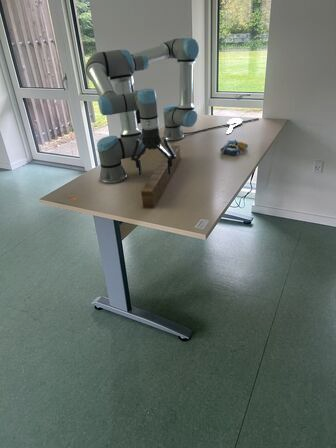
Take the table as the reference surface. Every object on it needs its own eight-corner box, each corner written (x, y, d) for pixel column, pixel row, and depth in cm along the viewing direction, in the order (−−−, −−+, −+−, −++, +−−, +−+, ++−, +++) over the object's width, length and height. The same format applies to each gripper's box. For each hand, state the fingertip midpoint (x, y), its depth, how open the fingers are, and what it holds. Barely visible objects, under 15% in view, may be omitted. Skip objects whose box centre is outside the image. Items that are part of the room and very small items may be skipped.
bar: (172, 158, 211) (171, 145, 207) (180, 158, 210) (179, 145, 206) (143, 207, 158) (141, 191, 154) (153, 208, 157) (151, 191, 153)
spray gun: (250, 145, 220) (228, 144, 226) (250, 139, 217) (228, 138, 224) (241, 157, 204) (218, 155, 211) (242, 150, 202) (218, 149, 208)
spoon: (235, 136, 245) (235, 133, 244) (220, 135, 249) (220, 132, 248) (243, 120, 272) (243, 117, 270) (230, 120, 275) (230, 117, 274)
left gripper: (120, 131, 142) (127, 177, 153) (178, 128, 139) (181, 175, 150) (123, 126, 148) (130, 171, 159) (179, 123, 145) (182, 169, 156)
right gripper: (108, 84, 198) (114, 120, 209) (135, 86, 182) (140, 126, 193) (118, 82, 202) (124, 117, 213) (146, 84, 186) (150, 122, 197)
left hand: (155, 173), depth 155 cm, fingers open, 13 cm apart
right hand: (131, 121), depth 203 cm, fingers open, 13 cm apart
